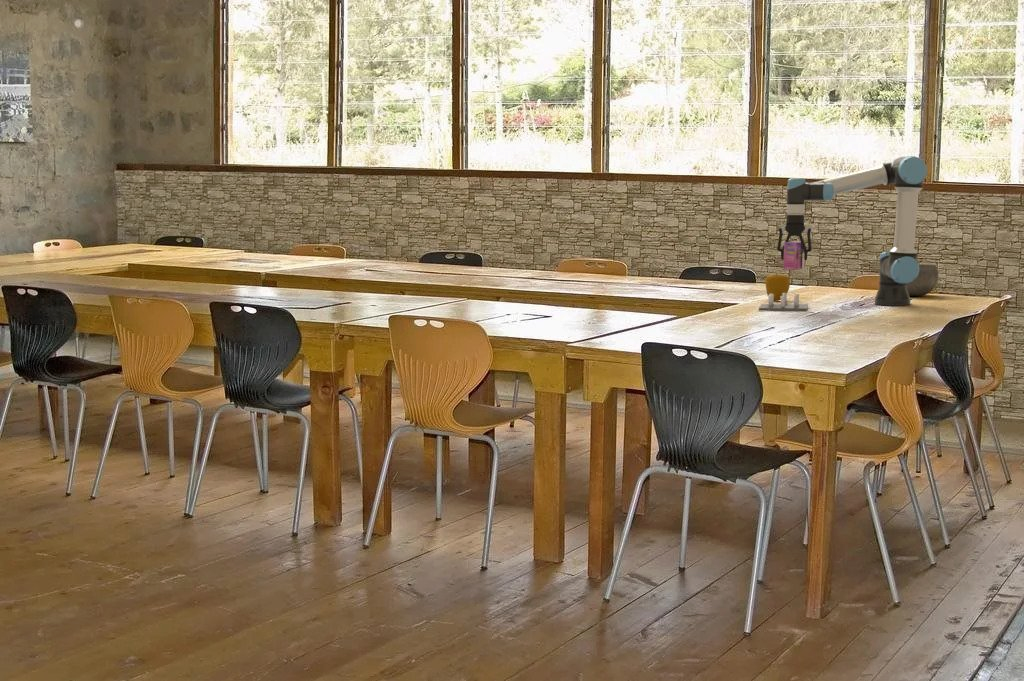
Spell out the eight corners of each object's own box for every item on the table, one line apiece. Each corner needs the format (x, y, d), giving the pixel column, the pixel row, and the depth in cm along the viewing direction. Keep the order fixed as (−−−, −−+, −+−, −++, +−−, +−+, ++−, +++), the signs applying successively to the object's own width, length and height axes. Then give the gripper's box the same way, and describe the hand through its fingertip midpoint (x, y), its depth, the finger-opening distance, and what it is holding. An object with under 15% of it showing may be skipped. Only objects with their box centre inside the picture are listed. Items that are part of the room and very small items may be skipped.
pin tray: (808, 307, 558) (808, 292, 557) (806, 311, 541) (806, 296, 540) (761, 306, 563) (761, 292, 562) (758, 310, 546) (758, 296, 545)
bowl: (900, 293, 613) (900, 262, 611) (943, 295, 601) (944, 263, 599) (885, 297, 596) (885, 265, 594) (929, 298, 584) (930, 266, 582)
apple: (792, 299, 591) (792, 272, 590) (784, 302, 582) (784, 274, 581) (770, 299, 597) (770, 271, 595) (761, 301, 588) (761, 273, 586)
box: (795, 269, 543) (796, 242, 541) (782, 269, 546) (783, 241, 544) (805, 268, 551) (805, 241, 549) (792, 268, 554) (793, 241, 553)
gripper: (819, 214, 547) (817, 267, 549) (772, 213, 552) (770, 266, 554) (819, 214, 539) (817, 268, 542) (771, 214, 544) (769, 267, 547)
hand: (793, 267), depth 548 cm, fingers closed on box, 7 cm apart
